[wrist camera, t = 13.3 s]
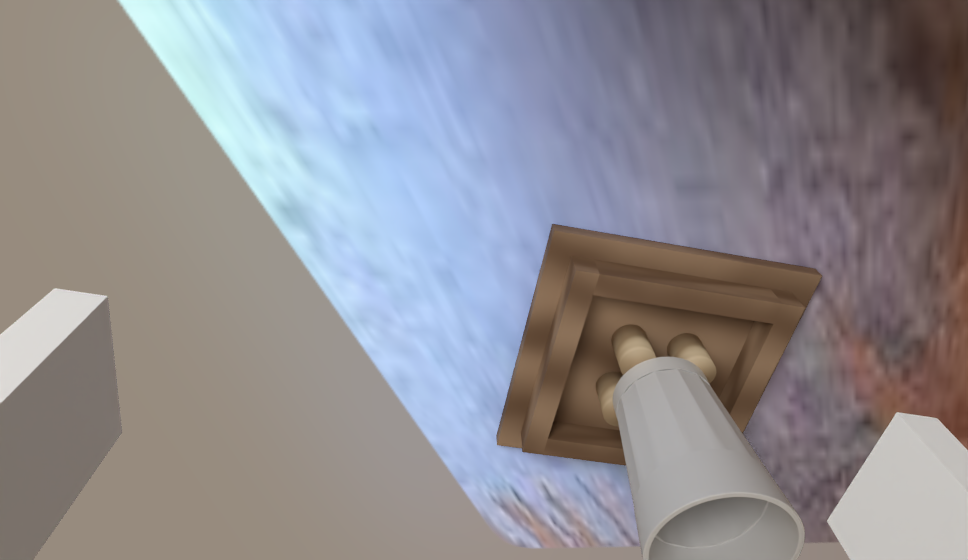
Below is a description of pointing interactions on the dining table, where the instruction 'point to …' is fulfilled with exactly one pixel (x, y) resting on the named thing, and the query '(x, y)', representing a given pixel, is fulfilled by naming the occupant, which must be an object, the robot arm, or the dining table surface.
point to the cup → (697, 472)
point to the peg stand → (641, 334)
